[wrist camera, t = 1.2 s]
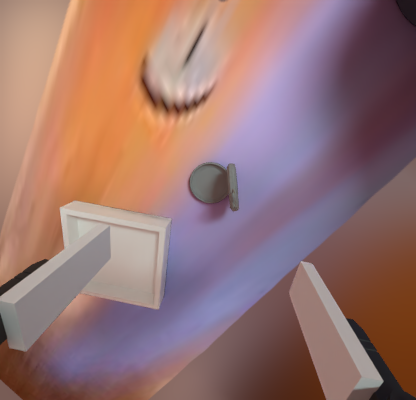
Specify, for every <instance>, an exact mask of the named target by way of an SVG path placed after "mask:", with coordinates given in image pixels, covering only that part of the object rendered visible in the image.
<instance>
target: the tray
mask: <svg viewBox="0 0 416 400" xmlns="http://www.w3.org/2000/svg"><path fill="white" fill-rule="evenodd" d="M60 214H61V223H62V231H63V240H64V248H67V247H68V246H69V245H71V244H72V243H73V242H75V241H76V240H77V239H79V238H80V237H82V236H83V235H84V234H86V233H87V232H88V231H90V230H91V229H92V228H94V227H95V226H96V225H98V224H99V223H100V224H106V225H110V246H111V259H110V260H109V261H108V262H107V263H106V264H105V265H104V266H103V267H102V268H101V270H100V271H99V272H98V273H97V274H96V275H95V276H94V277H93V278H92V279H91V281H90V282H89V283H88V284H87V285H86V286H85V287H84V288H83V289H82V290H81V292H80V294H85V295H90V296H95V297H100V298H105V299H109V300H114V301H119V302H124V303H129V304H133V305H138V306H143V307H148V308H153V309H157V310H159V307H160V305H161V302H162V300H163V297H164V292H165V281H166V271H167V261H168V251H169V241H170V231H171V221H172V219H171V218H166V217H160V216H155V215H150V214H144V213H139V212H133V211H128V210H123V209H117V208H112V207H107V206H101V205H96V204H91V203H85V202H80V201H73V202H71V203H69V204H67V205H65V206H63V207H60Z"/></svg>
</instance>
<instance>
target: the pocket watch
mask: <svg viewBox="0 0 416 400" xmlns="http://www.w3.org/2000/svg"><path fill="white" fill-rule="evenodd" d="M190 188H191V191H192V193H193V194H194V195H195V197H196V198H198V199H199V200H201V201H203V202H205V203H216V202H219V201H221V200H223V199H224V198H225V197H226V196H227V195H228V194H229V202H230V208H231V210H232V211H237V210H238V208H239V203H238V188H237V176H236V168H235V164H229V165H228V167H227V170H226V169H225V168H224V167H223V166H221V165H220V164H217V163H212V162H209V163H204V164H201V165H199V166H198V167H197V168H196V169H195V170H194V171H193V172H192V175H191V177H190Z"/></svg>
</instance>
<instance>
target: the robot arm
mask: <svg viewBox="0 0 416 400" xmlns="http://www.w3.org/2000/svg"><path fill="white" fill-rule="evenodd" d="M397 2H398V5H399V7H400V9H401V11H402V12H403V14H404V15H405V17H406V18H407V19H408V20H409V21H410V22H411V23H412V24H414V25H415V26H416V0H397ZM110 259H111V246H110V225H106V224H100V223H99V224H98V225H96V226H95V227H94V228H92V229H91V230H90V231H88V232H87V233H86V234H84V235H83V236H82V237H80V238H79V239H77V240H76V241H75V242H73V243H72V244H71V245H69V246H68V247H67V248H65V249H64V250H63V251H61V252H60V253H58V254H57V255H56V256H54V257H53V258H52V259H50V260H46V259H44V260H42V261H39V262H37V263H35V264H33V265H31V266H30V267H28V268H27V269H25V270H24V271H23V272H22V273H20V274H18V275H17V276H15V277H14V279H11V280H10V281H8V282H7V283H5V284H4V285H2V286H1V287H0V344H1V343H2V342H4V341H5V340H6V339H7V342H8V345H9V348H12V349H17V350H21V351H27V350H28V349H29V348H30V347H31V346H32V344H33V343H34V342H35V341H36V340H37V339H38V338H39V337H40V336H41V335H42V333H43V332H44V331H45V330H46V329H47V328H48V327H49V326H50V325H51V324H52V322H53V321H54V320H55V319H56V318H57V317H58V316H59V315H60V314H61V312H62V311H63V310H64V309H65V308H66V307H67V306H68V305H69V304H70V303H71V301H72V300H73V299H74V298H75V297H76V296H77V295H78V294H79V293H80V292H81V290H82V289H83V288H84V287H85V286H86V285H87V284H88V283H89V282H90V281H91V279H92V278H93V277H94V276H95V275H96V274H97V273H98V272H99V271H100V270H101V268H102V267H103V266H104V265H105V264H106V263H107V262H108V261H109V260H110ZM289 295H290V298H291V301H292V304H293V307H294V309H295V312H296V315H297V318H298V321H299V323H300V326H301V329H302V332H303V335H304V338H305V340H306V343H307V346H308V349H309V352H310V355H311V357H312V360H313V363H314V366H315V369H316V371H317V374H318V377H319V380H320V382H321V386H322V388H323V391H324V393H325V397H326V400H416V398H415V397H413V396H411V395H410V394H408V393H407V392H404V391H403V390H402V388H401V386H400V385H399V383H398V382H397V380H396V379H395V377H394V376H393V374H392V373H391V371H390V370H389V368H388V367H387V365H386V364H385V362H384V361H383V359H382V358H381V356H380V355H379V353H378V352H377V350H376V348H375V347H374V345H373V344H372V343H371V342H370V340H369V338H368V336H367V335H366V333H365V332H364V330H363V329H362V328H361V327H360V326H359V325H358V324H357V323H356V322H355V321H354V320H352V319H347V318H345V317H344V315H343V313H342V312H341V310H340V308H339V307H338V305H337V303H336V302H335V300H334V298H333V297H332V295H331V294H330V292H329V290H328V289H327V287H326V285H325V284H324V282H323V280H322V279H321V277H320V275H319V274H318V272H317V270H316V269H315V267H314V265H313V264H312V263H308V262H303V261H301V262H300V264H299V267H298V269H297V272H296V275H295V277H294V280H293V283H292V286H291V288H290V291H289Z"/></svg>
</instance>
